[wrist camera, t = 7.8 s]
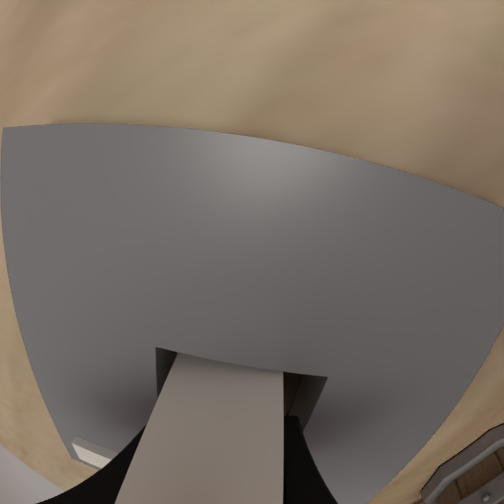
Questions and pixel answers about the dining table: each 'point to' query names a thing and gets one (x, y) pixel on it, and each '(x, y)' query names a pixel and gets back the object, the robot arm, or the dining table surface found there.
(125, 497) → the plug block
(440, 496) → the tankard
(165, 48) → the dining table surface
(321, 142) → the dining table surface
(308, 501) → the robot arm
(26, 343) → the socket plate
